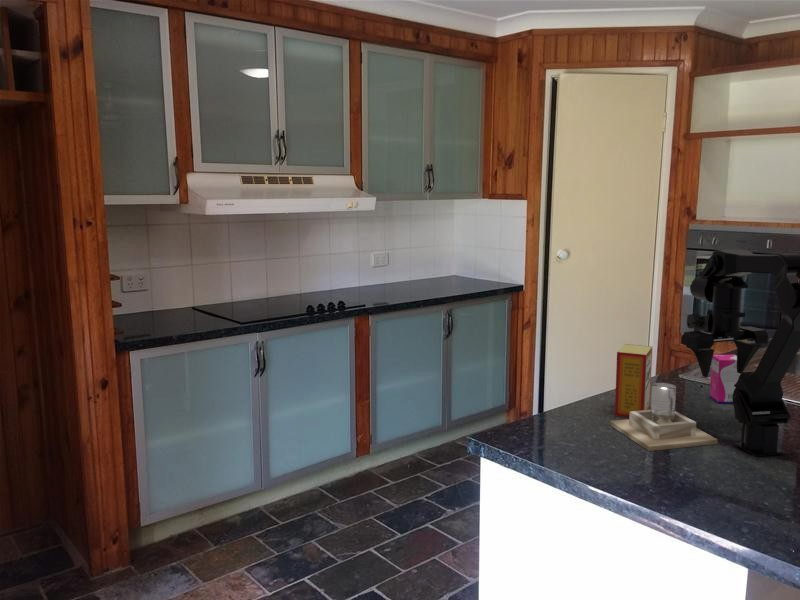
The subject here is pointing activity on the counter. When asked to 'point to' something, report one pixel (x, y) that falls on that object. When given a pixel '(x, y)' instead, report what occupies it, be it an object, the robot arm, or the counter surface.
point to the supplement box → (723, 378)
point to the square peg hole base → (662, 432)
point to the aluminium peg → (662, 403)
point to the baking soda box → (633, 379)
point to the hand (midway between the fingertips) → (722, 374)
